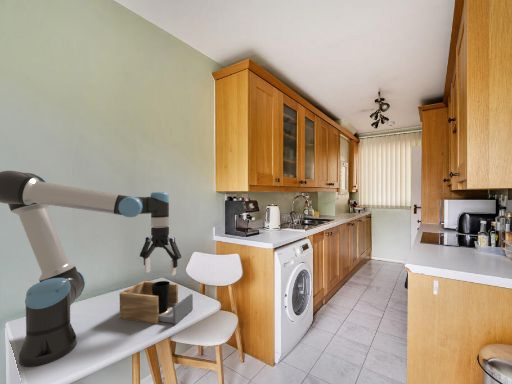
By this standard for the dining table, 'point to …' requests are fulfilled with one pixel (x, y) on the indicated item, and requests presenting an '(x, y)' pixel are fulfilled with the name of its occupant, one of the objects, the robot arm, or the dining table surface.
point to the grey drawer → (177, 310)
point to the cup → (161, 294)
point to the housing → (143, 302)
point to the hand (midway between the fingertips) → (160, 273)
